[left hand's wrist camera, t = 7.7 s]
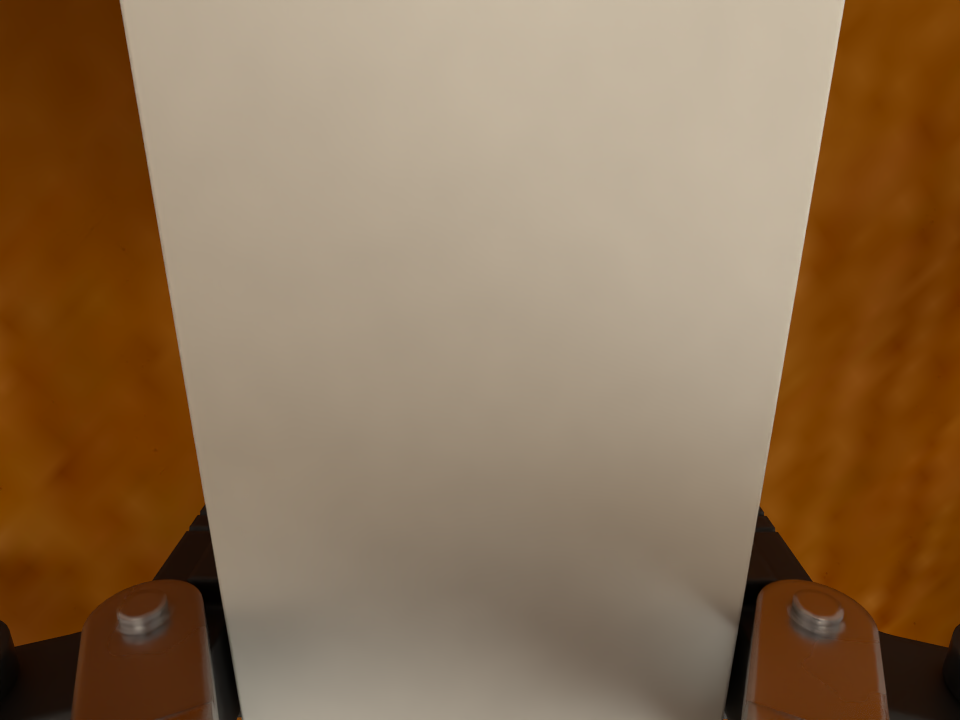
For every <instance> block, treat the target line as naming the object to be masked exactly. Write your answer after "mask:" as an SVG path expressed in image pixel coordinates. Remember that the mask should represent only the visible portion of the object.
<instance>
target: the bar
mask: <svg viewBox="0 0 960 720" xmlns="http://www.w3.org/2000/svg"><path fill="white" fill-rule="evenodd" d="M844 2H845V0H120V5H121V11H122V16H123V22H124V28H125V34H126V40H127V46H128V52H129V58H130V64H131V69H132V75H133V81H134V87H135V93H136V99H137V105H138V111H139V116H140V122H141V128H142V134H143V140H144V146H145V152H146V158H147V163H148V169H149V175H150V181H151V187H152V193H153V199H154V205H155V210H156V216H157V222H158V228H159V234H160V240H161V246H162V252H163V257H164V263H165V269H166V275H167V281H168V287H169V293H170V299H171V304H172V310H173V316H174V322H175V328H176V334H177V340H178V346H179V351H180V357H181V363H182V369H183V375H184V381H185V387H186V393H187V398H188V404H189V410H190V416H191V422H192V428H193V434H194V440H195V445H196V451H197V457H198V463H199V469H200V475H201V481H202V487H203V493H204V498H205V504H206V510H207V516H208V522H209V528H210V534H211V540H212V545H213V551H214V557H215V563H216V569H217V575H218V581H219V587H220V592H221V598H222V604H223V610H224V616H225V622H226V628H227V634H228V639H229V645H230V651H231V657H232V663H233V669H234V675H235V681H236V686H237V692H238V698H239V704H240V710H241V716H242V720H723V716H724V710H725V705H726V699H727V693H728V687H729V681H730V675H731V669H732V663H733V657H734V651H735V646H736V640H737V634H738V628H739V622H740V616H741V610H742V604H743V598H744V592H745V587H746V581H747V575H748V569H749V563H750V557H751V551H752V545H753V539H754V533H755V528H756V522H757V516H758V510H759V504H760V498H761V492H762V486H763V480H764V474H765V469H766V463H767V457H768V451H769V445H770V439H771V433H772V427H773V421H774V415H775V410H776V404H777V398H778V392H779V386H780V380H781V374H782V368H783V362H784V356H785V351H786V345H787V339H788V333H789V327H790V321H791V315H792V309H793V303H794V297H795V292H796V286H797V280H798V274H799V268H800V262H801V256H802V250H803V244H804V238H805V233H806V227H807V221H808V215H809V209H810V203H811V197H812V191H813V185H814V179H815V174H816V168H817V162H818V156H819V150H820V144H821V138H822V132H823V126H824V120H825V115H826V109H827V103H828V97H829V91H830V85H831V79H832V73H833V67H834V61H835V55H836V50H837V44H838V38H839V32H840V26H841V20H842V14H843V8H844Z"/></svg>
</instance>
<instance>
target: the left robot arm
mask: <svg viewBox="0 0 960 720" xmlns="http://www.w3.org/2000/svg"><path fill="white" fill-rule="evenodd" d="M237 717H242V716H241V710H240V704H239V698H238V692H237V686H236V681H235V675H234V669H233V663H232V657H231V651H230V645H229V639H228V634H227V628H226V622H225V616H224V610H223V604H222V598H221V592H220V587H219V581H218V575H217V569H216V563H215V557H214V551H213V545H212V540H211V534H210V528H209V522H208V516H207V510H206V504H205V505H204V507H203V508H202V510H201V511H200V515H198V516H197V517H196V518H195V520H194V521H193V523H192V524H191V526H190V529H189V531H186V533H185V534H184V536H183V537H182V539H181V540H180V542H179V543H178V544H177V546H176V547H175V549H174V550H173V552H172V553H171V554H170V556H169V557H168V559H167V560H166V562H165V563H164V565H163V566H162V567H161V569H160V570H159V572H158V573H157V575H156V576H155V578H154V579H153V580H152V581H149V582H144V583H141V584H138V585H134V586H132V587H129V588H127V589H124V590H122V591H120V592H118V593H116V594H115V595H113V596H111V597H110V598H108V599H107V600H105V601H104V602H103V603H101V604H100V605H99V606H98V607H97V608H96V609H95V610H94V611H93V612H92V613H91V614H90V615H89V617H88V618H87V620H86V621H85V623H84V625H83V629H82V631H81V632H78V633H74V634H70V635H66V636H61V637H57V638H52V639H48V640H43V641H39V642H34V643H30V644H25V645H21V646H16V647H14V644H13V641H12V637H11V634H10V631H9V629H8V627H7V625H6V624H5V623H4V622H2V621H0V720H237ZM723 719H728V720H960V624H959V625H958V626H957V627H956V628H955V630H954V632H953V635H952V638H951V641H950V645H949V648H947V647H943V646H938V645H934V644H929V643H925V642H920V641H916V640H911V639H907V638H902V637H897V636H894V635H890V634H886V633H883V632H880V631H878V629H877V625H876V623H875V621H874V620H873V618H872V617H871V615H870V614H869V613H868V612H867V611H866V610H865V609H864V608H863V607H862V606H861V605H860V604H859V603H857V602H856V601H855V600H853V599H852V598H850V597H849V596H847V595H845V594H844V593H842V592H840V591H838V590H836V589H833V588H831V587H828V586H826V585H822V584H819V583H816V582H813V581H812V580H811V579H810V577H809V576H808V574H807V573H806V572H805V570H804V569H803V567H802V566H801V564H800V563H799V562H798V560H797V559H796V557H795V556H794V554H793V553H792V552H791V550H790V549H789V547H788V546H787V545H786V543H785V542H784V540H783V539H782V537H781V536H780V535H779V533H778V532H775V527H774V526H773V525H772V523H771V522H770V520H769V519H768V518H767V516H764V512H763V510H762V509H761V508H760V506H759V510H758V516H757V522H756V528H755V533H754V539H753V545H752V551H751V557H750V563H749V569H748V575H747V581H746V587H745V592H744V598H743V604H742V610H741V616H740V622H739V628H738V634H737V640H736V646H735V651H734V657H733V663H732V669H731V675H730V681H729V687H728V693H727V699H726V705H725V710H724V716H723Z"/></svg>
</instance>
